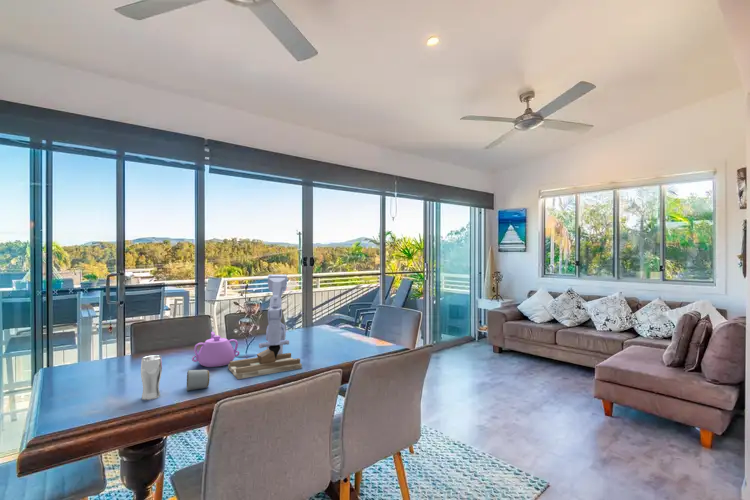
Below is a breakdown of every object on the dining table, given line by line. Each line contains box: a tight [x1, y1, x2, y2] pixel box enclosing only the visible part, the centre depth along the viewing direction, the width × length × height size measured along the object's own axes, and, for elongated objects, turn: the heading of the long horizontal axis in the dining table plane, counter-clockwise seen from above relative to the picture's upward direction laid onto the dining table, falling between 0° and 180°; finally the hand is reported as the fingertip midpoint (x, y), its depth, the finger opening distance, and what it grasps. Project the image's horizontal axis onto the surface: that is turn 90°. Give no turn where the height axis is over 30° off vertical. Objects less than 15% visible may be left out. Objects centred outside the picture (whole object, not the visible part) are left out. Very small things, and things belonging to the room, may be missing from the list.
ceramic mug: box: [186, 369, 210, 391], centre depth 155 cm, size 11×8×8 cm
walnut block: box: [256, 348, 276, 364], centre depth 181 cm, size 6×6×5 cm
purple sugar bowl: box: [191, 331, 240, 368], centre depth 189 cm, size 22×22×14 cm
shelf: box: [227, 352, 303, 380], centre depth 181 cm, size 17×30×4 cm, turn 124°
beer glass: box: [140, 354, 163, 401], centre depth 144 cm, size 7×7×15 cm
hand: (274, 360), depth 183 cm, fingers closed, pressing on walnut block
